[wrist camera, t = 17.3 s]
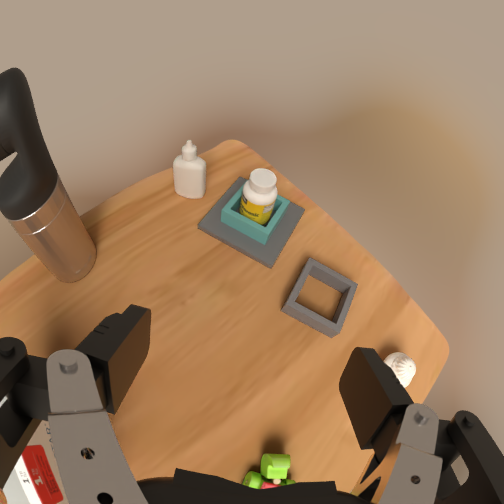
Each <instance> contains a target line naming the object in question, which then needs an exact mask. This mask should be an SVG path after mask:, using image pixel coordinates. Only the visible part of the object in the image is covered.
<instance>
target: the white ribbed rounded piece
mask: <svg viewBox="0 0 504 504" xmlns="http://www.w3.org/2000/svg"><path fill="white" fill-rule="evenodd" d="M383 362H385V363H386V364H387V365H388V366H389V367H391V369H392V370H393V372H394V373H395V375H396V377H397V378H398V379H399V381H400V382H401V383H400V384H402V385H403V387H404V388H405V387H406V386H408V385H409V383H410V382H411V380H412V377H413V376H414V374H415V372H416V371H415V370H416V367H415V365H416V364H415V363H414V361H412V358H409V357H408V356H407V355H406V354H404V353H401V352H395V353H392V354H390V355H388V356H387V357H386V358H385V360H384V361H383Z"/></svg>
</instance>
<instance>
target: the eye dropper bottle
mask: <svg viewBox="0 0 504 504" xmlns="http://www.w3.org/2000/svg"><path fill="white" fill-rule="evenodd" d="M173 173H174V185H175V192H176V193H177V194H179V195H181V196H183V197H186V198H191V199H199V198H202V197H203V196H204V193H205V191H206V162H205V161H204V160H203V159H201V158H200V157H198V156H197V147H196V146H195V145H194V144H192V142H191V140H187V143H186V145H184V146H183V147H182V155H179V156H178V157H176V159H175V160H174V162H173Z"/></svg>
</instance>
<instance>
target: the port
mask: <svg viewBox="0 0 504 504" xmlns="http://www.w3.org/2000/svg"><path fill="white" fill-rule="evenodd" d="M247 181H248V180H246V179H244V178H242V177H239V178H238V179H237V180H236V182H235V183H234V184H233V185H232V186H231V187H230V188H229V189H228V190H227V192H226V193H225V194H224V195H223V196H222V197H221V198H220V200H219V201H218V202H217V203H216V204H215V205H214V206H213V208H212V209H211V210H210V211H209V212H208V213H207V215H206V216H205V217H204V218H203V219H202V220H201V222H200V223H199V224H198V229H200V230H202V231H204V232H205V233H207V234H209V235H211V236H213V237H214V238H216V239H218V240H220V241H222V242H223V243H225V244H227V245H229V246H231V247H232V248H234V249H236V250H238V251H240V252H241V253H243V254H245V255H247V256H249V257H250V258H252V259H254V260H256V261H258V262H259V263H261V264H263V265H265V266H267V267H268V268H270V269H271V268H272V266H273V265H274V263H275V261H276V260H277V258H278V256H279V254H280V253H281V251H282V249H283V248H284V246H285V244H286V242H287V241H288V239H289V237H290V236H291V234H292V232H293V230H294V229H295V227H296V225H297V223H298V222H299V220H300V218H301V216H302V215H303V213H304V211H305V209H304V208H302V207H300V206H298V205H296V204H294V203H292V202H290V201H289V200H287V199H285V198H283V197H281V196H279V195H277V198H276V201H275V204H274V207H273V210H272V213H271V217H270V220H269V222H268V223H267V224H266V225H265V226H262V225H260V224H258V223H256V222H254V221H252V220H250V219H249V218H247V217H245V216H243V215H241V214H239V209H240V203H241V197H242V191H243V187H244V184H245V183H246V182H247Z"/></svg>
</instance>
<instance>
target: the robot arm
mask: <svg viewBox="0 0 504 504" xmlns="http://www.w3.org/2000/svg"><path fill="white" fill-rule="evenodd" d="M14 152H17V153H18V154H17V156H16V157H15V158H14V160H13V161H12V162H11V164H10V165H9V166H8V167H7V168H6V170H5V171H4V172H3V174H2V175H1V177H0V211H1V212H2V214H3V215H4V216H5V218H6V219H7V220H8V222H9V223H10V224H11V226H12V227H13V228H14V230H15V231H16V232H17V233H18V234H19V236H20V237H21V238H22V239H23V241H24V242H25V243H26V244H27V245H28V247H29V248H30V249H31V250H32V251H33V252H34V254H35V255H36V256H37V257H38V258H39V259H40V260H41V261H42V263H43V264H44V265H45V266H46V267H47V268H48V269H49V270H50V271H51V272H52V273H53V274H54V276H55V277H56V278H57V279H59V280H60V281H62V282H66V283H71V282H76V281H78V280H80V279H82V278H83V277H84V276H86V275H87V274H88V273H89V271H90V270H91V268H92V267H93V265H94V262H95V259H96V247H95V245H94V243H93V241H92V239H91V237H90V236H89V234H88V232H87V230H86V228H85V227H84V225H83V223H82V221H81V219H80V217H79V216H78V214H77V212H76V210H75V208H74V206H73V204H72V202H71V200H70V198H69V196H68V194H67V192H66V190H65V188H64V186H63V184H62V182H61V180H60V178H59V175H58V173H57V170H56V168H55V166H54V164H53V161H52V159H51V157H50V154H49V152H48V149H47V147H46V144H45V142H44V139H43V136H42V133H41V130H40V126H39V123H38V119H37V116H36V112H35V108H34V104H33V99H32V96H31V92H30V88H29V85H28V82H27V80H26V77H25V75H24V74H23V72H22V71H21V70H20V69H18V68H11V69H8V70H6V71H5V72H3V73H1V74H0V161H1V160H3V159H4V158H6V157H8V156H9V155H11V154H12V153H14ZM150 325H151V310H150V309H148V308H144V307H141V306H137V305H133V304H131V305H130V306H129V307H128V308H127V309H126V310H125V311H124V312H123V313H122V314H119V313H115V314H112V315H110V316H108V317H106V318H105V319H104V320H103V321H102V322H101V323H100V324H99V326H97V327H96V328H95V329H94V330H93V331H92V332H91V333H90V334H89V335H88V336H87V337H86V338H85V339H84V340H83V341H82V342H81V343H80V344H79V345H78V346H77V347H76V348H75V349H74V350H71V349H64V350H59V351H56V352H54V353H53V354H51V355H50V356H49V358H48V359H46V358H41V357H36V356H31V355H28V354H27V350H26V346H25V344H24V343H23V342H22V341H21V340H19V339H17V338H14V337H4V338H0V402H1V401H2V400H3V399H4V397H5V396H6V397H7V399H6V401H5V402H4V403H3V404H2V406H1V407H0V504H7V499H6V496H5V494H4V492H3V488H4V486H5V484H6V482H7V480H8V478H9V476H10V474H11V473H12V471H13V469H14V467H15V465H16V463H17V462H18V460H19V458H20V456H21V454H22V453H23V451H24V449H25V448H26V446H27V444H28V443H29V441H30V439H31V438H32V436H33V434H34V433H35V431H36V429H37V428H38V426H39V425H40V423H41V421H42V420H44V421H48V422H49V428H50V434H51V439H52V444H53V449H54V454H55V458H56V462H57V466H58V470H59V474H60V477H61V481H62V484H63V488H64V491H65V494H66V497H67V500H68V503H69V504H504V456H503V454H502V453H501V451H500V450H499V448H498V447H497V445H496V443H495V442H494V440H493V439H492V437H491V436H490V435H489V433H488V431H487V430H486V429H485V427H484V426H483V424H482V423H481V421H480V420H479V419H478V417H477V416H475V415H474V414H473V413H471V412H468V411H463V410H462V411H458V412H457V413H456V414H455V416H454V417H453V418H452V420H451V421H447V420H439V419H438V416H437V414H436V413H435V412H434V411H433V410H432V409H431V408H429V407H428V406H425V405H423V404H418V403H415V404H414V402H413V401H412V399H411V398H410V396H409V394H408V393H407V391H406V390H405V388H404V387H403V385H402V384H400V383H401V382H400V381H399V379H398V378H397V377H396V375H395V373H394V372H393V370H392V369H391V367H389V366H388V365H387V364H386V363H385V362H383V361H382V360H381V358H380V357H379V355H378V354H377V352H376V351H375V350H374V349H373V348H362V347H356V348H355V349H354V350H353V351H352V354H351V356H350V358H349V360H348V363H347V365H346V367H345V369H344V371H343V373H342V376H341V378H340V382H339V391H340V394H341V396H342V399H343V402H344V404H345V407H346V410H347V412H348V415H349V418H350V420H351V423H352V426H353V429H354V431H355V434H356V437H357V440H358V443H359V445H360V448H361V450H364V449H374V453H373V454H372V455H371V457H370V458H369V460H368V462H367V464H366V466H365V468H364V470H363V472H362V474H361V476H360V478H359V480H358V482H357V483H356V485H355V487H354V489H353V490H352V492H351V493H346V492H342V491H337V489H336V485H335V481H326V482H298V483H294V484H289V485H283V486H278V487H272V488H265V489H256V488H252V487H249V486H245V485H242V484H239V483H236V482H233V481H230V480H227V479H224V478H221V477H218V476H213V475H207V474H202V473H197V472H192V471H187V470H182V469H178V468H176V470H175V474H174V477H156V478H149V479H144V480H139V481H136V480H135V478H134V476H133V474H132V472H131V470H130V468H129V466H128V464H127V461H126V459H125V457H124V455H123V452H122V450H121V448H120V445H119V443H118V441H117V438H116V436H115V433H114V431H113V428H112V425H111V423H110V420H109V417H108V414H107V412H109V413H112V414H114V415H115V413H116V412H117V410H118V408H119V406H120V404H121V402H122V400H123V399H124V397H125V395H126V393H127V391H128V389H129V388H130V386H131V384H132V382H133V380H134V379H135V377H136V375H137V373H138V371H139V370H140V368H141V366H142V364H143V362H144V361H145V359H146V357H147V354H148V350H149V345H150ZM459 455H461V456H462V458H463V460H464V462H465V464H466V466H467V468H468V470H469V477H468V479H467V481H466V482H465V483H464V484H463V485H462V486H460V484H459V482H458V480H457V477H456V475H455V473H454V471H453V469H452V467H451V464H452V463H453V462H454V461H455V460H456V459H457V458H458V457H459Z"/></svg>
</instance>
